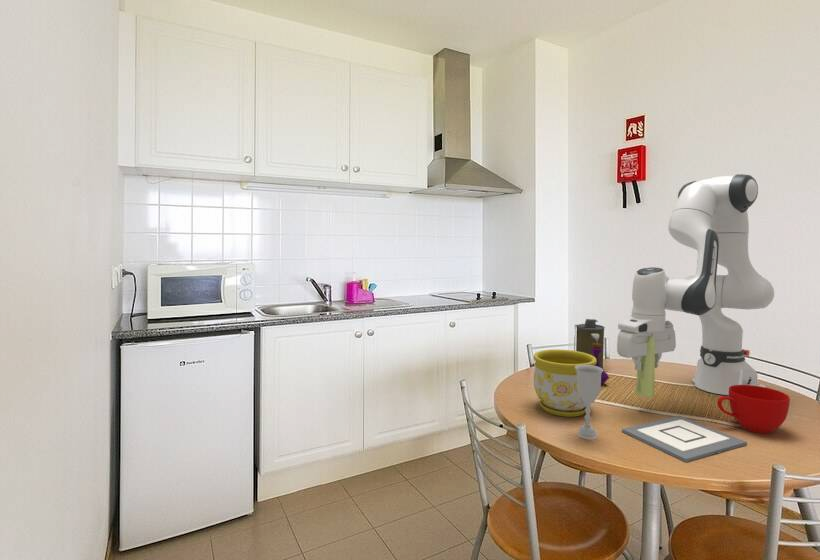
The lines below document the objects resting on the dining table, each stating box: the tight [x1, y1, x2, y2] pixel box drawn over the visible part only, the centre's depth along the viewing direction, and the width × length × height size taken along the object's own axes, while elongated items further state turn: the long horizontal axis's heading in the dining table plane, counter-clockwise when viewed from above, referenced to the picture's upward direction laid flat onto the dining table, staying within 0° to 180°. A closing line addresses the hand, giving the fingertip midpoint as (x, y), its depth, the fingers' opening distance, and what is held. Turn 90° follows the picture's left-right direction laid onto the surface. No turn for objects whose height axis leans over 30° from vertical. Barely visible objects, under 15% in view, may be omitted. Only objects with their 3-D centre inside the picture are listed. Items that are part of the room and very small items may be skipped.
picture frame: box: [621, 415, 748, 463], centre depth 115 cm, size 22×18×1 cm
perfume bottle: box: [591, 334, 610, 386], centre depth 158 cm, size 8×8×18 cm
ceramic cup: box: [717, 385, 791, 434], centre depth 120 cm, size 13×17×10 cm
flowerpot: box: [533, 349, 597, 418], centre depth 134 cm, size 18×18×16 cm
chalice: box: [575, 365, 604, 441], centre depth 116 cm, size 7×7×18 cm
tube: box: [635, 334, 656, 398], centre depth 132 cm, size 6×5×20 cm
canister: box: [573, 318, 606, 369], centre depth 175 cm, size 11×10×20 cm
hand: (646, 368), depth 132 cm, fingers closed on tube, 5 cm apart
